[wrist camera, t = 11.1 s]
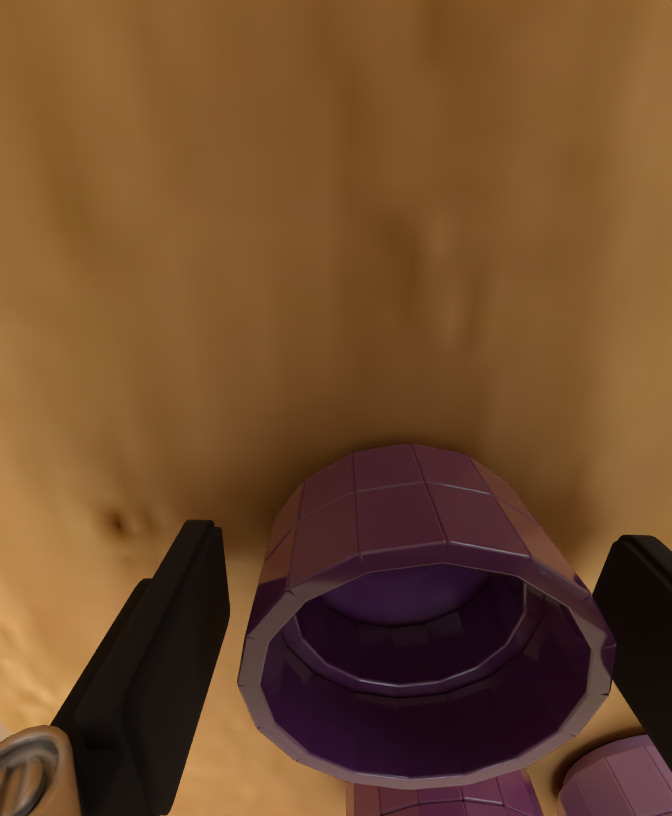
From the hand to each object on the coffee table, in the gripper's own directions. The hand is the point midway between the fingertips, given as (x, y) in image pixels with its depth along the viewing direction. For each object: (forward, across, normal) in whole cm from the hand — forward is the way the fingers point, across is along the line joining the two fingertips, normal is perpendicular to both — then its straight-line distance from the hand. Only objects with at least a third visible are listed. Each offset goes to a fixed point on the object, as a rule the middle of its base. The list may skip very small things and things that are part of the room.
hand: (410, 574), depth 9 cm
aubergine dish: (+1, 0, 0) cm, 2 cm away
